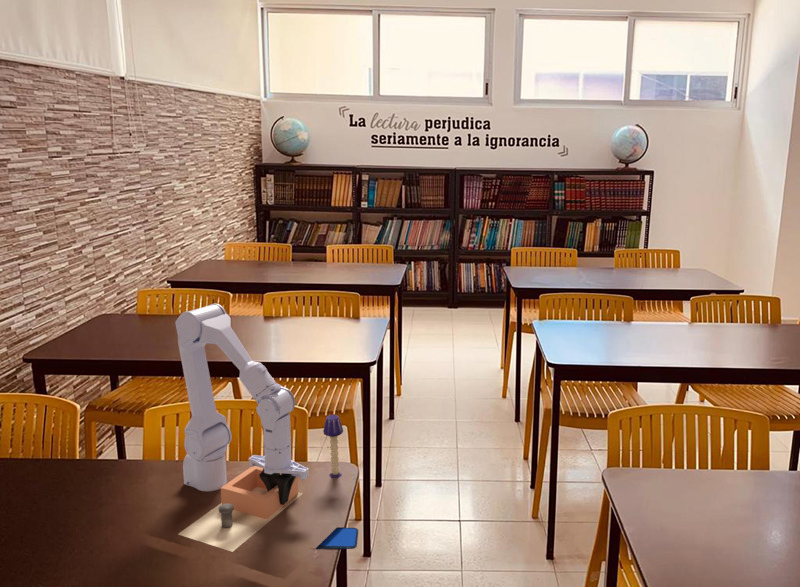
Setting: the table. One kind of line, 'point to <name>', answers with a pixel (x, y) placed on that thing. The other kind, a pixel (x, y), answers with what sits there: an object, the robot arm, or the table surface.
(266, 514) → the orange square frame
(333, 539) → the smartphone
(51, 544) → the table surface
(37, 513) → the table surface
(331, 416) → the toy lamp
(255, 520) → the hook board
